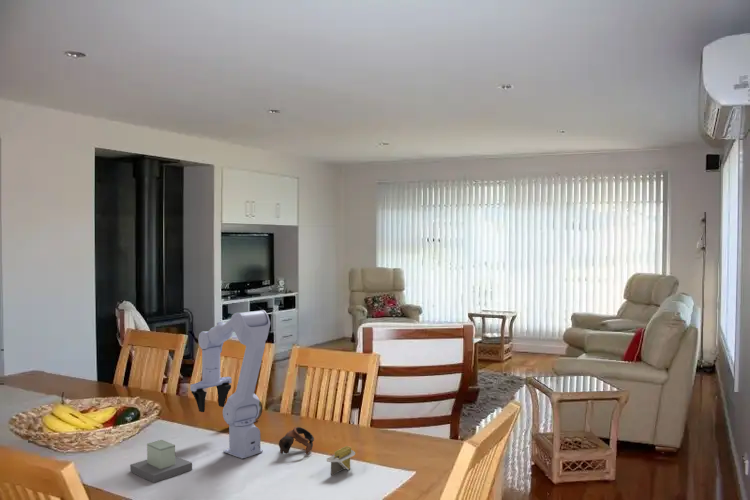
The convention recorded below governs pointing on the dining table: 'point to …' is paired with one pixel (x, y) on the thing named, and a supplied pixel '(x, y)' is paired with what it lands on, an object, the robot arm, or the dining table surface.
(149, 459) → the block
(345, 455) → the platform
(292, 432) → the brown curved band
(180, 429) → the dining table surface
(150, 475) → the stand
